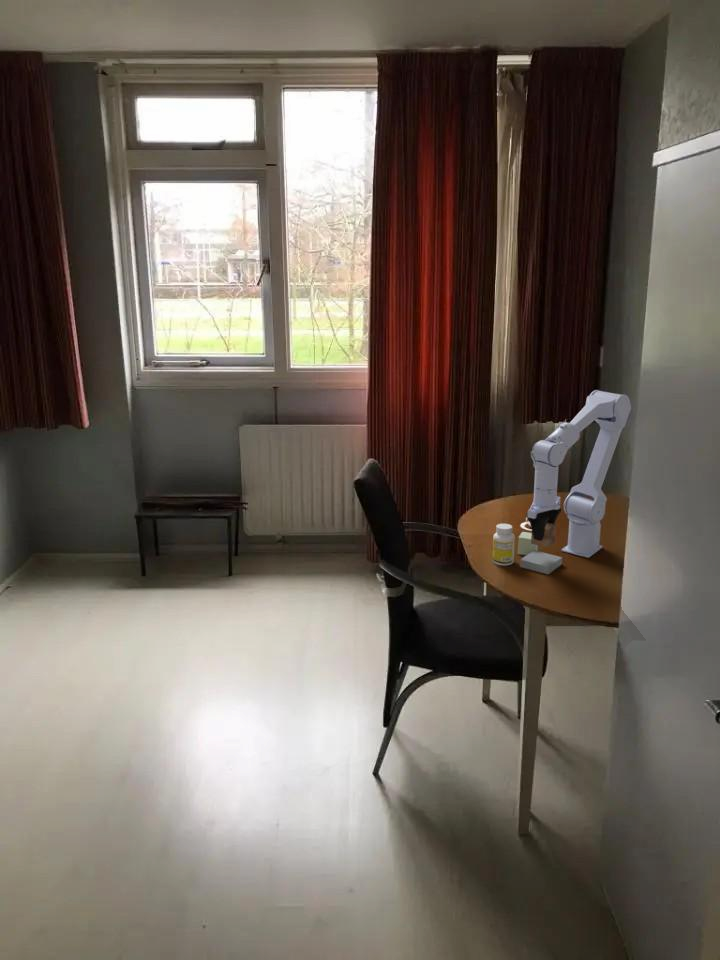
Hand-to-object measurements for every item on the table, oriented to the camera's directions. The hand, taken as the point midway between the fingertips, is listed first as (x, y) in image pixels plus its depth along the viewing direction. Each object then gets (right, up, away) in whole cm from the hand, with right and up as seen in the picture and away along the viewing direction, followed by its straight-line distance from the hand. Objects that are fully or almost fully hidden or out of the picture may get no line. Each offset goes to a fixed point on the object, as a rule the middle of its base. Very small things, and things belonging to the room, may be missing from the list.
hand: (542, 536), depth 200 cm
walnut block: (0, -2, 0) cm, 2 cm away
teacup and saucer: (+7, 0, +28) cm, 29 cm away
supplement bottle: (-9, -7, +5) cm, 13 cm away
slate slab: (0, -8, +3) cm, 9 cm away
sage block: (-2, -5, +11) cm, 12 cm away
